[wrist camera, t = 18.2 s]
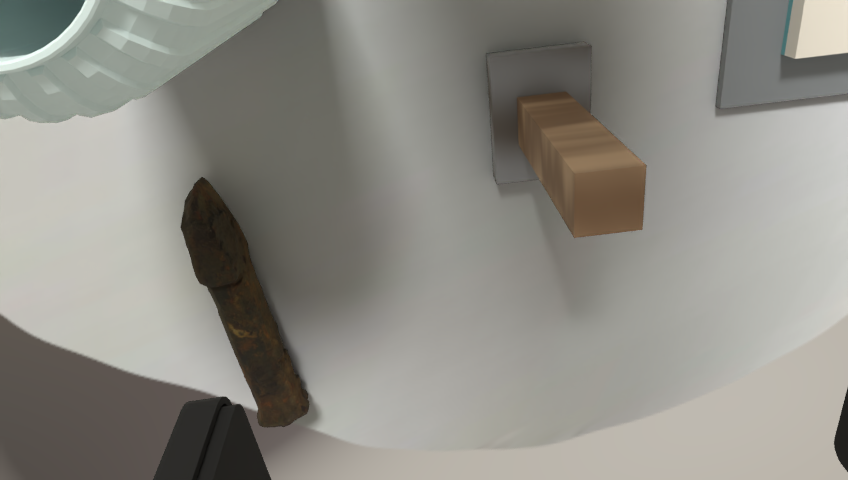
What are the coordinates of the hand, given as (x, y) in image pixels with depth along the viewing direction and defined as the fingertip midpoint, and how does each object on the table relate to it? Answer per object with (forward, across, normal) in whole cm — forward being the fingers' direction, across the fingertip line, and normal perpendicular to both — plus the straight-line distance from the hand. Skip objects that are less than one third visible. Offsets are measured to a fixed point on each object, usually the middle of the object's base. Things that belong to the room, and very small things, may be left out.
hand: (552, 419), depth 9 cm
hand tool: (+31, +16, +16) cm, 38 cm away
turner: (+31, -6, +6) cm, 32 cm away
